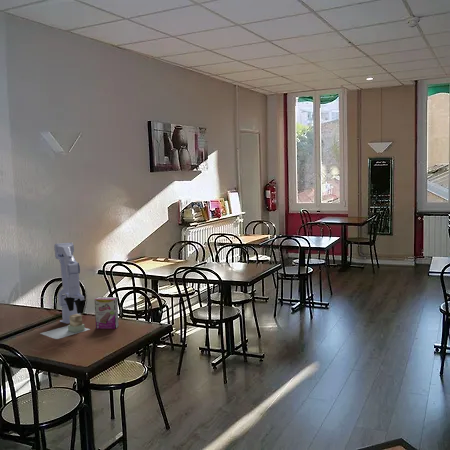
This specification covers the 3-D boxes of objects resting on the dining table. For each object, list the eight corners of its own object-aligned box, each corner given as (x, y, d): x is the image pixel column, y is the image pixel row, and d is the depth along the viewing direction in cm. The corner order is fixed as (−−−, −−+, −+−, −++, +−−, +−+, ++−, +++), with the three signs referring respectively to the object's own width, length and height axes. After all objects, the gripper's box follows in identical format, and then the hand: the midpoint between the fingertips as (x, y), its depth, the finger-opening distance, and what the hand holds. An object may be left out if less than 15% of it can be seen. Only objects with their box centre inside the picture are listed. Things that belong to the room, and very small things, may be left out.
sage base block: (78, 327, 280) (77, 322, 279) (84, 329, 276) (84, 324, 275) (68, 330, 275) (67, 325, 275) (74, 332, 271) (74, 327, 271)
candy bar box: (95, 329, 278) (93, 299, 276) (98, 326, 282) (97, 296, 281) (116, 329, 276) (114, 299, 275) (119, 326, 281) (117, 296, 280)
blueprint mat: (73, 324, 287) (73, 324, 287) (90, 330, 277) (90, 329, 277) (39, 334, 272) (39, 333, 272) (56, 340, 262) (56, 339, 262)
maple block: (77, 323, 278) (76, 313, 278) (82, 324, 275) (81, 315, 275) (69, 325, 275) (69, 315, 274) (74, 326, 272) (74, 317, 271)
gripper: (59, 285, 275) (60, 311, 276) (75, 289, 265) (76, 315, 267) (71, 283, 280) (72, 308, 281) (87, 286, 271) (88, 312, 272)
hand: (75, 311), depth 274 cm, fingers open, 7 cm apart
